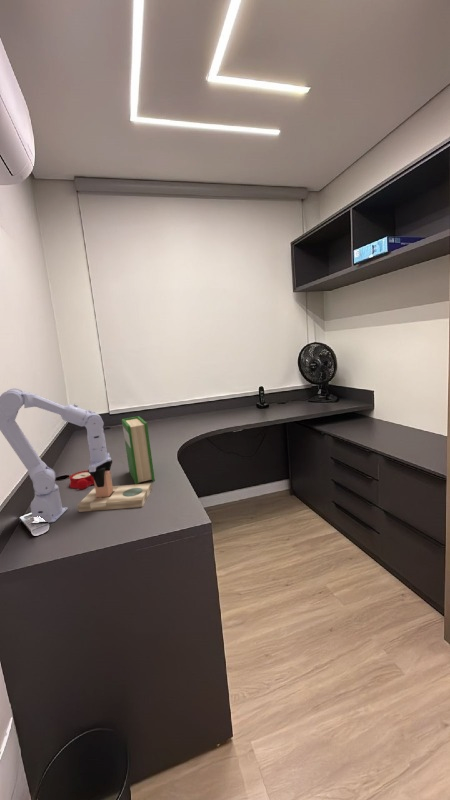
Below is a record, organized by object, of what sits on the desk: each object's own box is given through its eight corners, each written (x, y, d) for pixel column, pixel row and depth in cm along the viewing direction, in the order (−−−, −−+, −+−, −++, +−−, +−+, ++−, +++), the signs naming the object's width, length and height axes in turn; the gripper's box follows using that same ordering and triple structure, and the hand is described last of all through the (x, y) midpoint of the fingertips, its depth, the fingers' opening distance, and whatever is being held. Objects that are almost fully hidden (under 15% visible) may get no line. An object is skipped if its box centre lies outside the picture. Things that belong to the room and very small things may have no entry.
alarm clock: (86, 468, 152) (102, 466, 141) (90, 482, 152) (106, 481, 141) (62, 477, 144) (77, 475, 134) (66, 491, 144) (82, 491, 134)
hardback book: (154, 480, 139) (146, 423, 135) (136, 485, 136) (127, 426, 133) (146, 468, 155) (138, 416, 151) (129, 472, 152) (121, 419, 149)
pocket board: (142, 506, 117) (141, 499, 116) (78, 511, 118) (77, 504, 117) (151, 489, 131) (151, 483, 130) (95, 494, 132) (93, 487, 131)
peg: (108, 496, 122) (105, 474, 120) (96, 497, 122) (93, 475, 121) (113, 491, 126) (110, 470, 125) (101, 492, 126) (98, 471, 125)
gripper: (101, 452, 114) (107, 491, 116) (115, 440, 128) (121, 475, 130) (80, 454, 114) (86, 493, 116) (97, 442, 128) (102, 476, 131)
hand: (103, 483), depth 123 cm, fingers closed on peg, 4 cm apart
